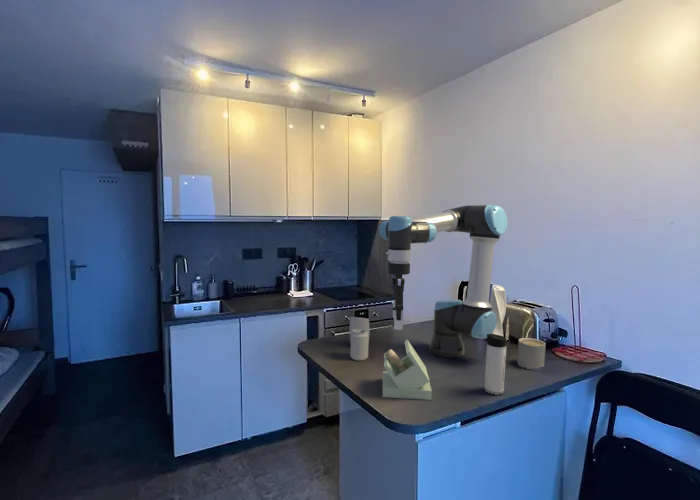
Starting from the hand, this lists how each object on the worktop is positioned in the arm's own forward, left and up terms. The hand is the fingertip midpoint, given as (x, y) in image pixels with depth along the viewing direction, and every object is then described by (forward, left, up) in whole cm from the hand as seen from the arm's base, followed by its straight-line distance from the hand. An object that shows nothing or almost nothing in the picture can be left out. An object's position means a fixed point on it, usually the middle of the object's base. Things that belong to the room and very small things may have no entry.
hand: (397, 323), depth 135 cm
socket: (-4, 0, -23) cm, 23 cm away
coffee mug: (-57, -29, -23) cm, 68 cm away
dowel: (-6, 0, -19) cm, 20 cm away
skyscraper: (-51, -59, -24) cm, 81 cm away
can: (+14, -27, -23) cm, 38 cm away
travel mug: (-34, -2, -23) cm, 41 cm away
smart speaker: (+15, -43, -23) cm, 51 cm away
